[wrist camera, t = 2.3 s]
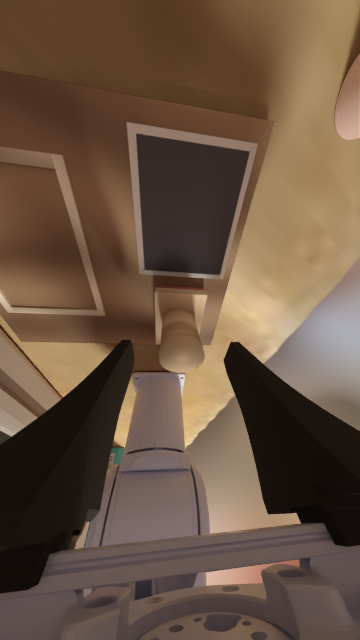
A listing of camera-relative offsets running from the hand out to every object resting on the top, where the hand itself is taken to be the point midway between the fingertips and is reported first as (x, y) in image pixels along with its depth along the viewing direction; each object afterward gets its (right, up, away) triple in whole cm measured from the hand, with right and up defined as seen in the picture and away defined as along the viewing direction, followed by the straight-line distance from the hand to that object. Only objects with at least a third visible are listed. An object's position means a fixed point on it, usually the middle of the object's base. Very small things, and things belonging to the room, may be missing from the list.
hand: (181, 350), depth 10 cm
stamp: (0, +3, +4) cm, 5 cm away
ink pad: (0, +9, 0) cm, 10 cm away
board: (-7, +7, +2) cm, 10 cm away
